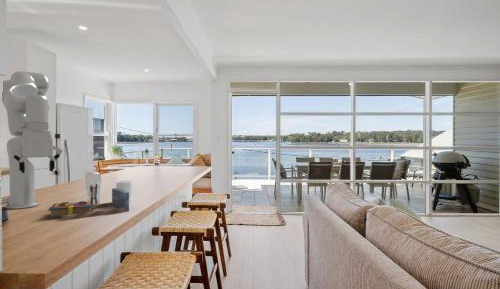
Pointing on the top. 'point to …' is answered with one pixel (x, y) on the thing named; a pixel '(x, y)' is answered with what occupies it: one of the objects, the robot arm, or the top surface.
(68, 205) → the decorative book
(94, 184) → the beer glass
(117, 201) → the guide rails
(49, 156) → the robot arm
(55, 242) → the top surface
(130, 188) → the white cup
